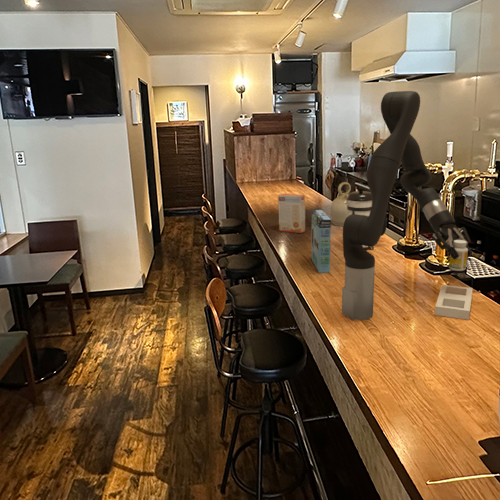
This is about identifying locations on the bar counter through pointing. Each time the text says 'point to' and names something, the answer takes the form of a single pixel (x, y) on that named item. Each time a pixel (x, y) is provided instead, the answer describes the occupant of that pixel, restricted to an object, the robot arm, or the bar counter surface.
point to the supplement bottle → (461, 261)
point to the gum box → (321, 241)
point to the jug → (340, 206)
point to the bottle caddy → (454, 302)
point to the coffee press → (361, 206)
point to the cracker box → (291, 213)
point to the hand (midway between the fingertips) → (463, 256)
